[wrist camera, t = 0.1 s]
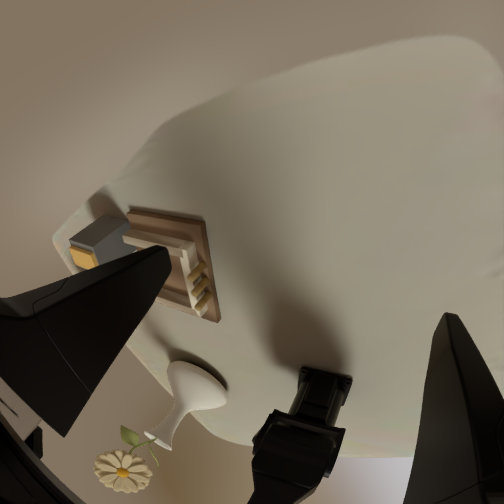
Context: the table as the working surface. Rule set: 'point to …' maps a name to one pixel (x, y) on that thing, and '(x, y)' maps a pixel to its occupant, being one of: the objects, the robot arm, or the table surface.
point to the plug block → (100, 242)
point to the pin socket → (179, 261)
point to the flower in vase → (160, 427)
